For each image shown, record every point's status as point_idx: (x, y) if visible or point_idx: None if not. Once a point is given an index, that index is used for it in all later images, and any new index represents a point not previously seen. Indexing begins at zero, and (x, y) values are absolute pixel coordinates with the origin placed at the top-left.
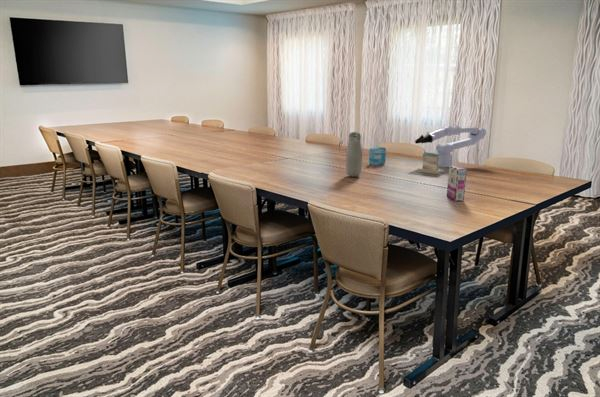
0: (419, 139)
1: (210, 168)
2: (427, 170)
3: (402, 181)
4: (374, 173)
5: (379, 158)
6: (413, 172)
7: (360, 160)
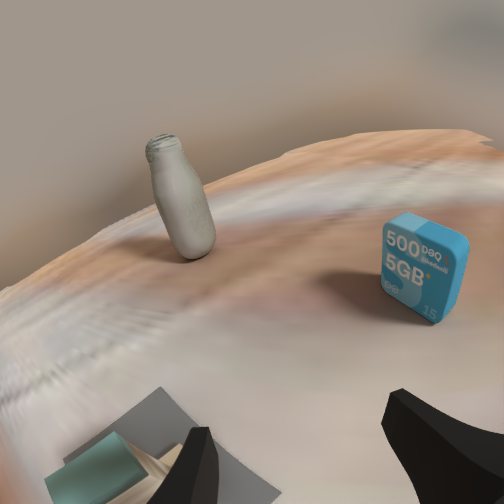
0: (430, 449)
1: (311, 149)
2: None
3: (92, 341)
4: (223, 292)
5: (411, 282)
6: (174, 422)
7: (164, 221)
